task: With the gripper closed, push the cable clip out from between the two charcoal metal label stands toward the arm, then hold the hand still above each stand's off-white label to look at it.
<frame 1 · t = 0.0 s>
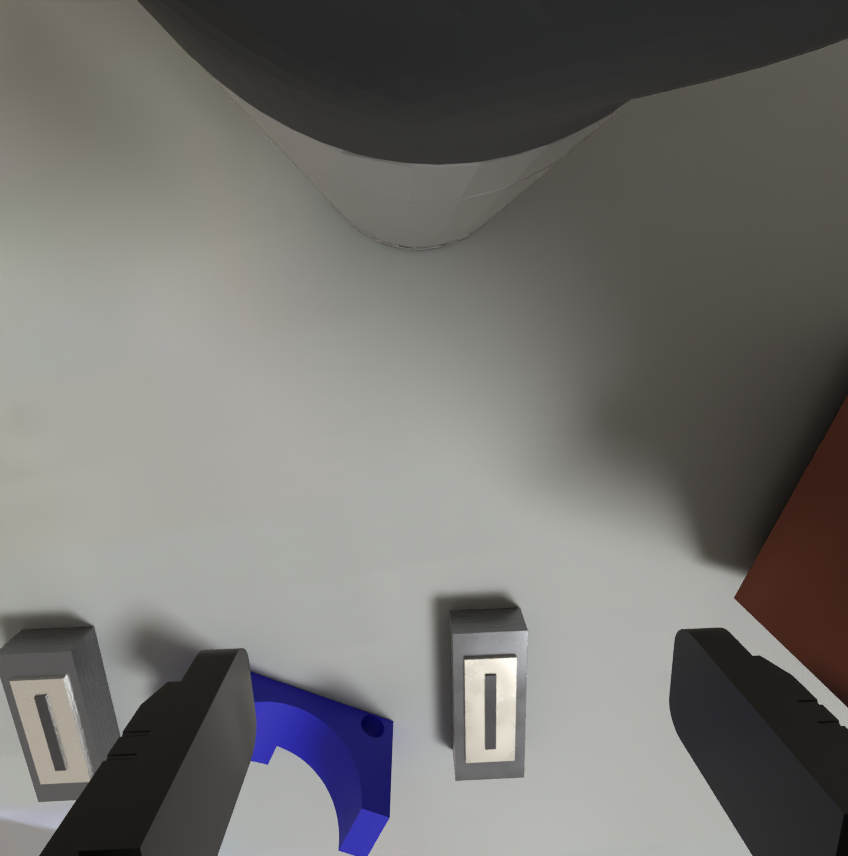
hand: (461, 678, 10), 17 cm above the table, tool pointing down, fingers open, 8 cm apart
cable clip: (288, 712, 31), on the table
label stands: (282, 691, 30), on the table
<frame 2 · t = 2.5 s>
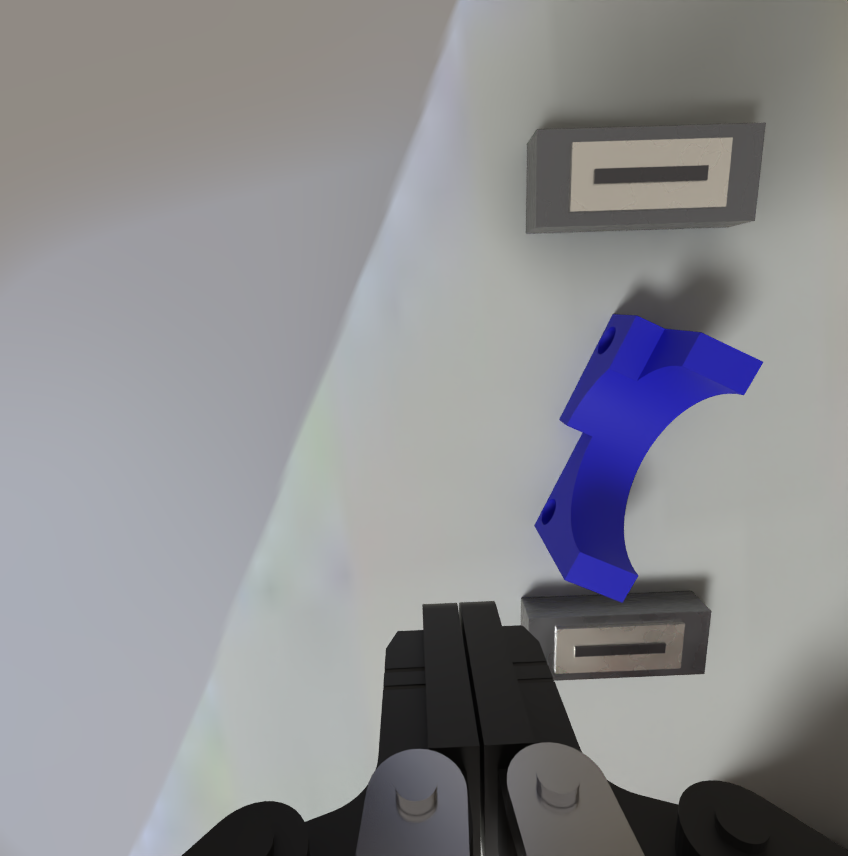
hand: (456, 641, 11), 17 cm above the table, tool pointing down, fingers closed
cable clip: (593, 434, 28), on the table
label stands: (616, 428, 27), on the table
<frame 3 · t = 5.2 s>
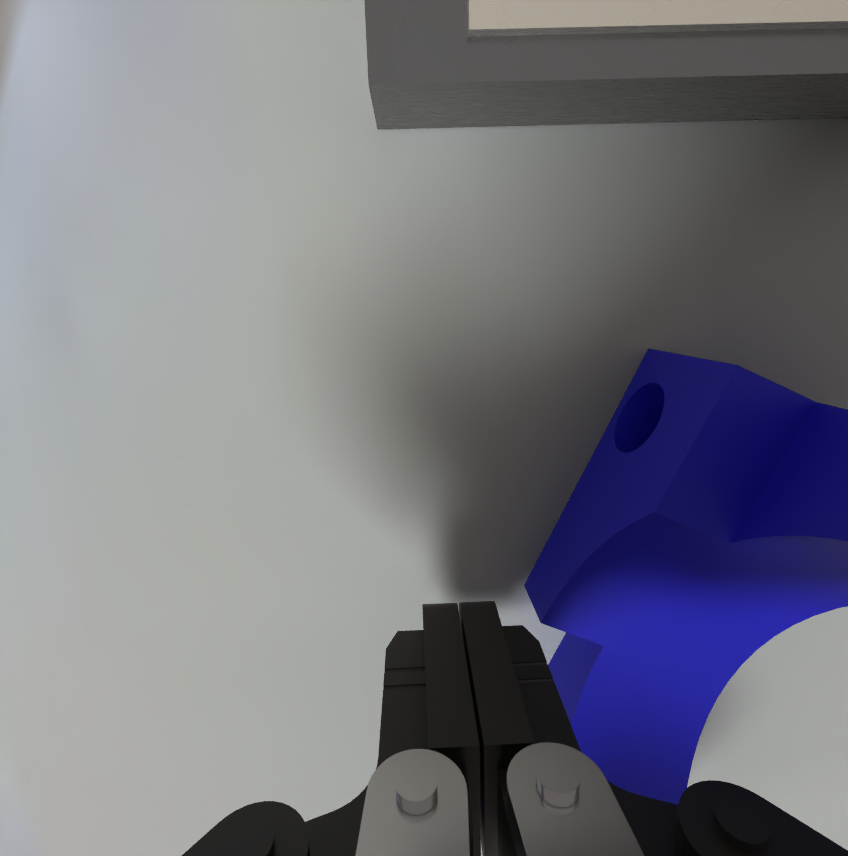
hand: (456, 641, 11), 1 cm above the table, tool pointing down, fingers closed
cable clip: (603, 610, 13), on the table, touching hand
label stands: (611, 593, 12), on the table
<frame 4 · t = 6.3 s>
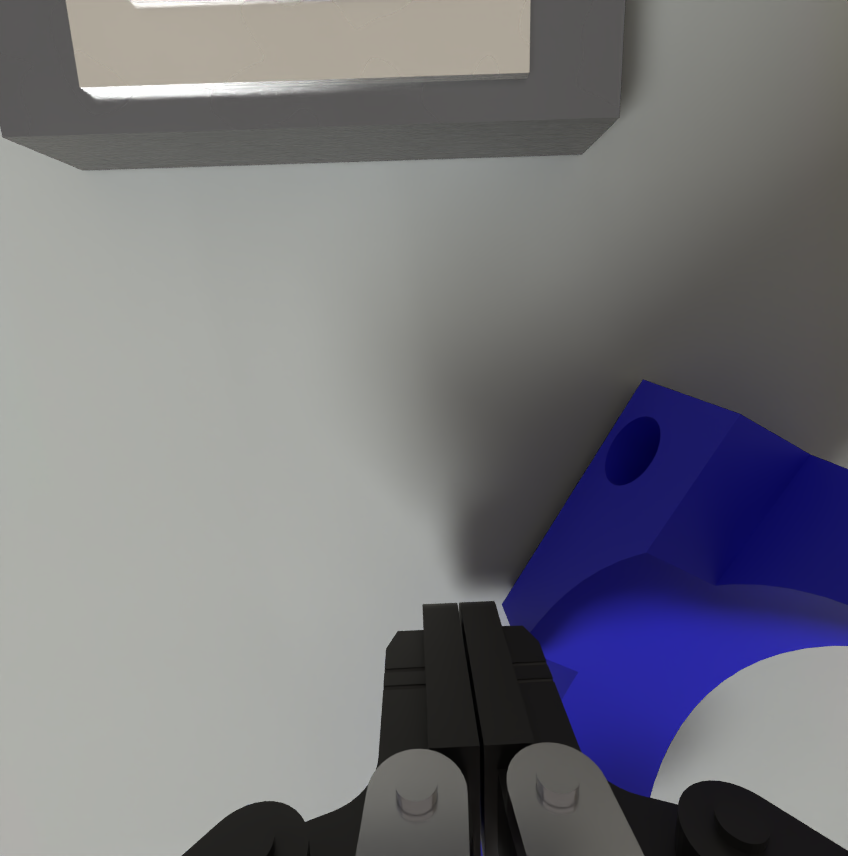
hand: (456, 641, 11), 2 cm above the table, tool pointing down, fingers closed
cable clip: (576, 632, 13), on the table, touching hand
label stands: (360, 609, 12), on the table
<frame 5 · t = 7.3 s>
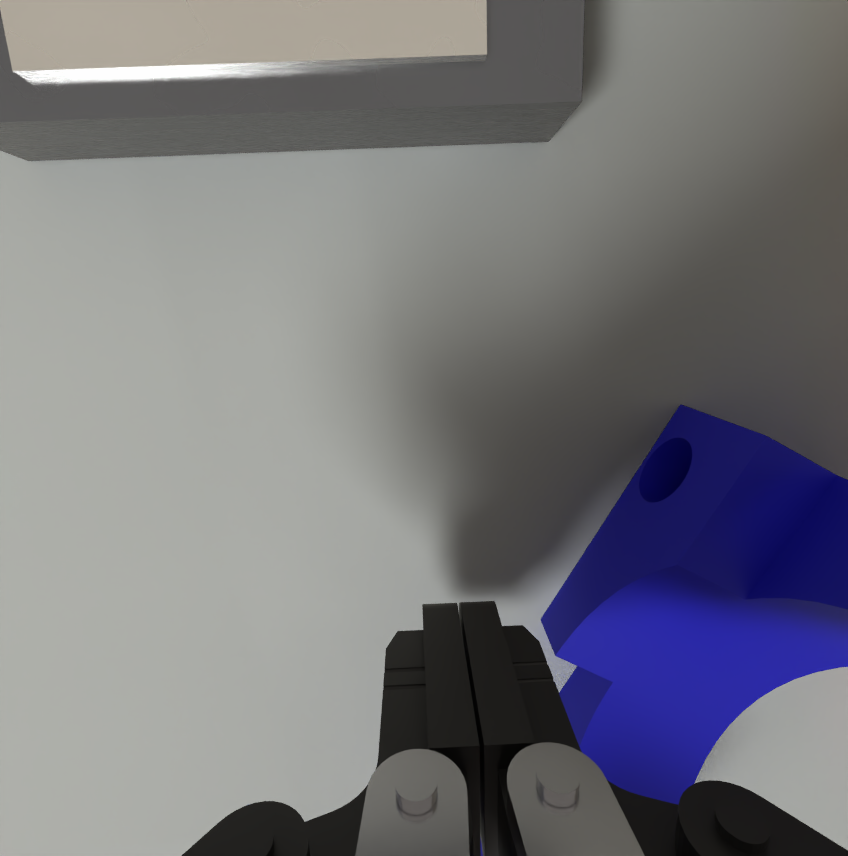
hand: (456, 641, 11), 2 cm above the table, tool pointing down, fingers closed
cable clip: (612, 645, 13), on the table
label stands: (332, 611, 12), on the table
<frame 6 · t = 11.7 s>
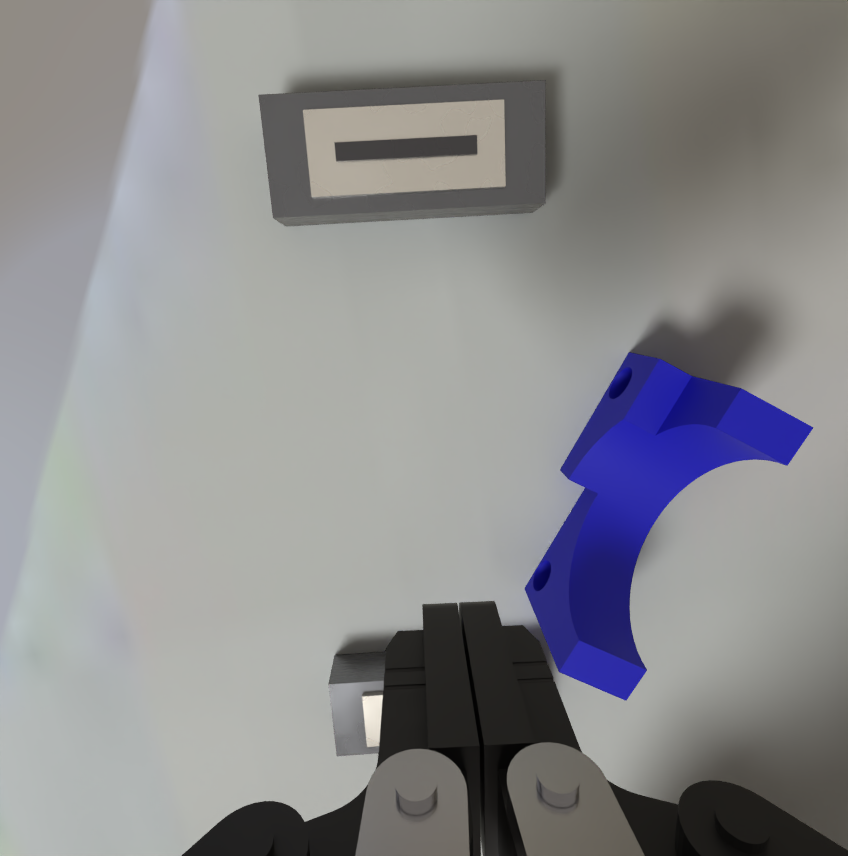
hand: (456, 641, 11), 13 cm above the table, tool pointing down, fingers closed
cable clip: (598, 487, 24), on the table
label stands: (423, 455, 23), on the table
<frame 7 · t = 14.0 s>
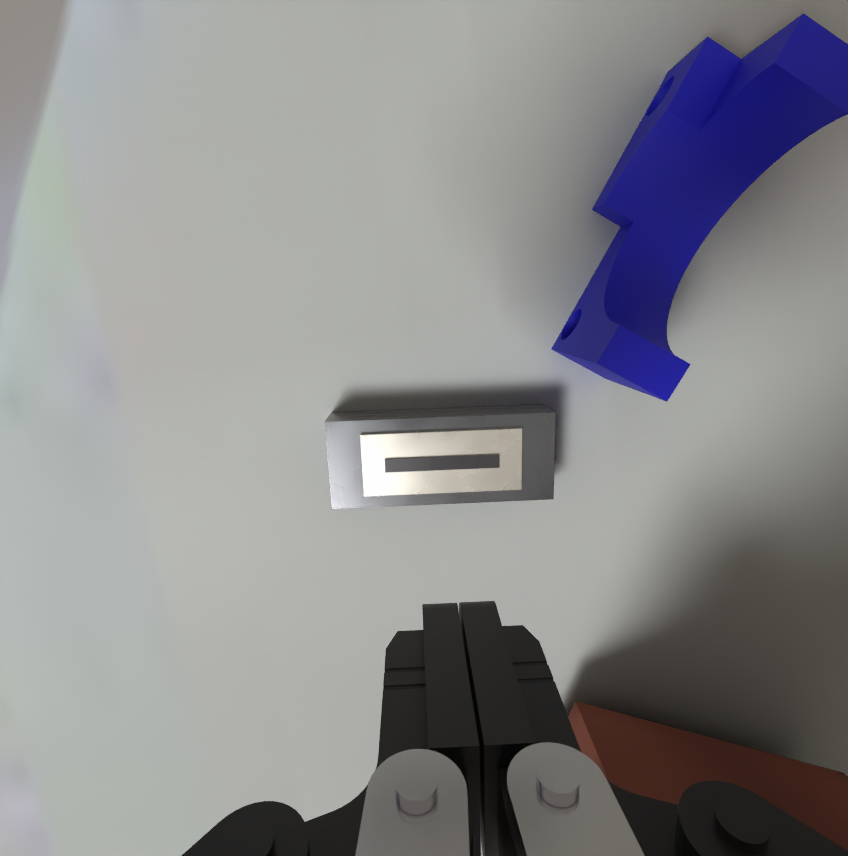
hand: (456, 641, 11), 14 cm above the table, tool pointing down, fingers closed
potted plant: (634, 813, 30), on the table
cable clip: (631, 236, 23), on the table
label stands: (431, 177, 22), on the table
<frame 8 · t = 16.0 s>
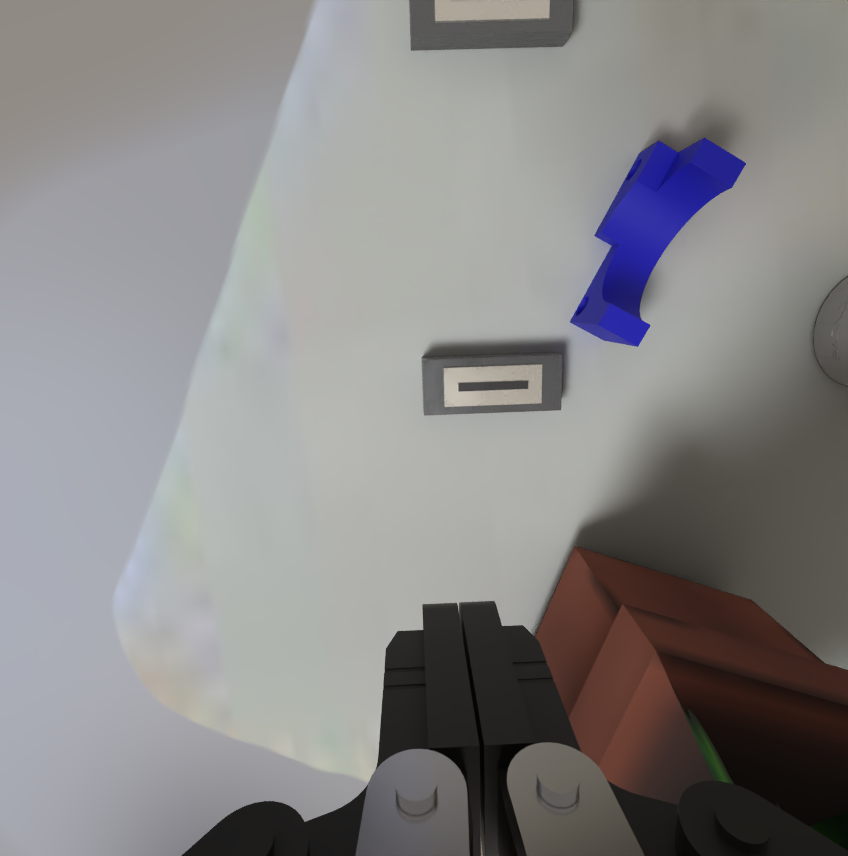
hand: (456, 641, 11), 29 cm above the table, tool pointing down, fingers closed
potted plant: (615, 638, 44), on the table
cable clip: (618, 251, 37), on the table
label stands: (487, 211, 36), on the table
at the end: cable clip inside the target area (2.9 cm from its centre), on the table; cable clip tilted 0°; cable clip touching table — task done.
